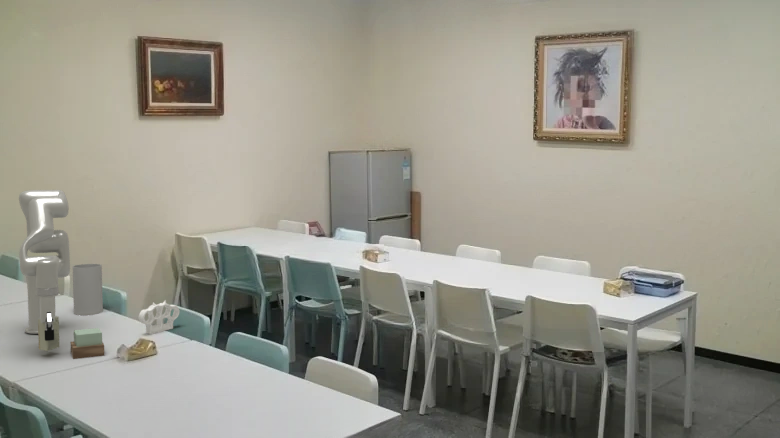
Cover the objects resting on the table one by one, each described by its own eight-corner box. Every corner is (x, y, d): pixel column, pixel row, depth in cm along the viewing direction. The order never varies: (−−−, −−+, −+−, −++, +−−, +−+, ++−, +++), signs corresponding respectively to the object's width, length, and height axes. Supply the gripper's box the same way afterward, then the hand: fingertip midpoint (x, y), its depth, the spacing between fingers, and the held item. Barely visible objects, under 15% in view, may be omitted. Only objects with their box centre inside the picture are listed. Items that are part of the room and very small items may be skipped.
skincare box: (51, 345, 291) (50, 314, 290) (60, 347, 289) (59, 316, 288) (38, 350, 285) (37, 318, 284) (47, 351, 284) (46, 319, 282)
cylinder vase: (97, 315, 360) (96, 263, 358) (107, 319, 350) (105, 266, 348) (70, 318, 352) (68, 265, 350) (79, 323, 342) (77, 268, 340)
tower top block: (74, 341, 291) (73, 330, 291) (98, 339, 296) (98, 327, 295) (76, 346, 283) (76, 335, 283) (102, 344, 288) (102, 332, 287)
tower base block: (70, 353, 292) (70, 341, 292) (101, 350, 297) (100, 338, 297) (73, 359, 282) (72, 348, 282) (104, 356, 287) (104, 345, 287)
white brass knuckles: (180, 331, 327) (179, 298, 326) (143, 339, 313) (143, 304, 311) (175, 330, 329) (174, 297, 328) (139, 338, 315) (138, 303, 314)
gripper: (35, 288, 291) (36, 333, 293) (37, 296, 276) (39, 344, 278) (56, 286, 295) (58, 331, 296) (60, 295, 279) (61, 342, 281)
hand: (48, 337), depth 287 cm, fingers closed on skincare box, 7 cm apart
